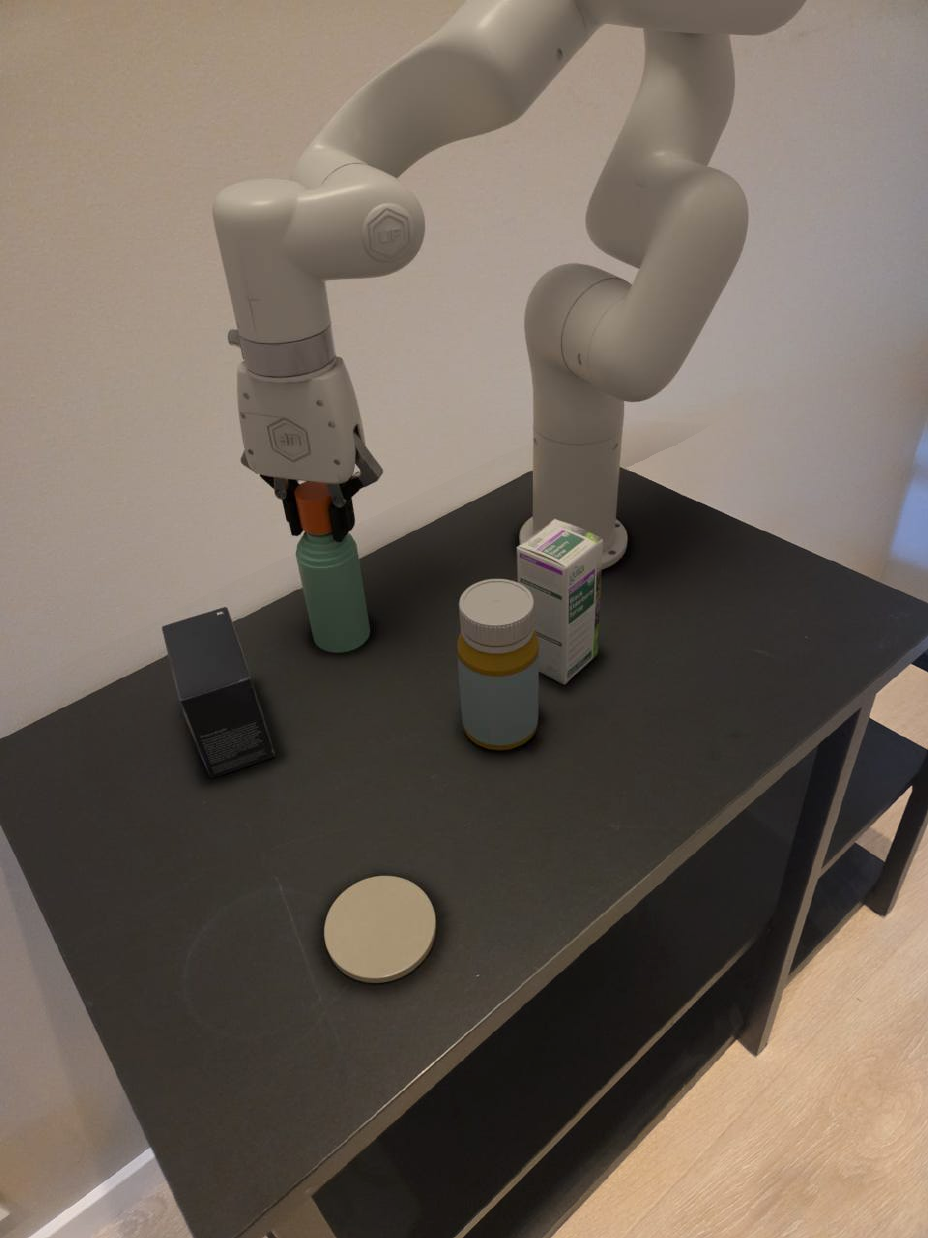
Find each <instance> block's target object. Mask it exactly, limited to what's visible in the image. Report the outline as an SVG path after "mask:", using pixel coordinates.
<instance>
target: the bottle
mask: <svg viewBox="0 0 928 1238" xmlns="http://www.w3.org/2000/svg"><path fill="white" fill-rule="evenodd" d="M458 610H459V612H458V613H459V624H460V632H459V635H458V639H457V641H456V656H457V668H458V669H457V671H458V681H459V682H458V683H459V684H458V685H459V697H460V710H461V721H462V727H463V731H464V733H465V734H466V736H467V737H468V739H469V740H470V741H472V742H473V743H475V745H478V746H480V747H483V748H485V749H488V750H491V751H492V750H494V751H506V750H507V751H508V750H512V749H514V748H517V747H520V746H522V745H524V744H526V742H527V741H528V742H529V740H530V739H532V737H534V734H535V733H536V731H537V728H538V725H539V689H540V688H539V685H540V684H539V683H540V682H539V681H540V680H539V678H540V677H539V676H540V675H539V674H540V672H539V642H538V638H537V635H536V633H535V631H534V629H533V623H534V600H533V597H532V594H531V593H530V591H529V590H528V589H527V588H526V587H524V586H523V585H521V584H519V583H518V581H515V580H510V579H505V578H490V579H489V578H488V579H484V580H481V581H478V582H476V583H473V584H472V585H470V586H468V587H467V588H466V589H465V590H464V591H463V593H462V594H461V596H460V599H459V603H458Z"/></svg>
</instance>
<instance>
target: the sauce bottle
mask: <svg viewBox="0 0 928 1238" xmlns="http://www.w3.org/2000/svg"><path fill="white" fill-rule="evenodd" d="M295 559H296V563H297V569H298V573H299V577H300V582H301V586H302V592H303V597H304V600H305V605H306V610H307V614H308V619H309V623H310V628H311V633H312V638H313V641H314V643H315V645H316V646H317V647H318V648H319V649H321V650H322V651H324V652H328V653H333V654H335V653H336V654H340V653H346V652H347V653H348V652H351V651H354V650H356V649H358V648H360V647H361V646H362V645H364V644H365V643H366V641H367V640H369V638H370V635H371V627H370V620H369V614H368V609H367V607H368V606H367V602H366V594H365V590H364V589H365V588H364V583H363V575H362V570H361V569H362V568H361V562H360V557H359V551H358V544H357V542H356V540H355V539H354V537H353V535H352V534H351V533H350V532H348V534H347V535H346V537H345V538H344V540H343V541H342V542H335V540H334V539H333V534H332V532H330V533H327V534H321V535H314V534H309V533H307V532H305V531H303V534H302V536H301V537H300V539H299V541H298V542H297V544H296V549H295Z"/></svg>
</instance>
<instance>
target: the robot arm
mask: <svg viewBox="0 0 928 1238" xmlns="http://www.w3.org/2000/svg"><path fill="white" fill-rule="evenodd" d="M807 1H808V0H464V2H463V3H462V4H461V6H460V7H458V9H457V10H456V11H455V13H454V14H452V16H451V17H450V18H449V19H448V20H447V21H446V22H445V23H444V24H443V26H441V28H439V29H438V30H437V31H435V32H434V33H433V34H432V35H431V36H429V37H427V38H426V39H424V40H423V41H422V42H420V43H418V44H417V45H415V46H413V48H411V49H410V50H409V51H408V52H406V53H405V54H404V55H402V56H401V57H400V58H398V59H397V60H395V61H394V62H393V63H392V64H391V65H389V66H388V67H386V68H385V69H384V70H382V71H381V72H379V73H378V74H377V75H375V76H374V77H373V78H371V79H370V80H369V81H367V83H365V84H363V86H361V87H360V88H359V89H358V90H356V92H354V93H353V94H352V96H350V97H349V99H347V100H346V101H345V102H344V103H343V104H342V106H341V107H340V108H339V109H338V110H337V111H336V112H335V113H334V115H332V117H331V118H330V119H329V120H328V122H327V123H326V124H325V125H324V127H323V128H321V130H320V131H319V132H318V134H317V135H315V136H314V138H313V140H312V141H310V143H309V144H308V145H307V147H306V148H305V150H304V151H303V152H302V153H301V155H300V157H299V158H298V160H297V161H296V163H295V165H294V167H293V169H292V171H291V173H290V176H289V178H288V179H284V178H257V179H256V178H255V179H250V180H244V181H240V182H237V183H234V184H231V185H228V186H227V187H224V188H222V189H221V190H219V192H218V193H217V194H216V195H215V197H214V199H213V202H212V208H211V210H212V211H211V214H212V219H213V225H214V226H213V227H214V230H215V233H216V238H217V239H216V240H217V243H218V248H219V252H220V256H221V262H222V265H223V270H224V275H225V279H226V284H227V288H228V294H229V297H230V302H231V305H232V306H231V307H232V312H233V315H234V320H235V325H236V329H234V328H231V329H230V330H229V331H228V332H227V341H228V344H229V345H230V346H232V347H237V348H238V349H240V351H241V356H242V360H243V361H241V362H240V363H238V365H237V369H236V396H237V408H238V409H237V411H238V420H239V425H240V433H241V439H242V444H243V449H244V450H243V452H242V455H241V457H240V463H241V464H242V465H243V466H244V467H245V468H247V469H249V470H251V471H252V472H254V474H256V475H259V477H260V478H261V479H262V480H263V481H264V482H265V483H266V484H267V485H268V486H270V487H271V489H273V491H274V492H273V493H274V496H275V497H276V498H277V499H278V500H281V502H282V507H283V511H284V516H285V519H286V520H285V521H286V522H287V523H288V526H289V530H290V535H291V536H293V537H299V536H300V535H301V534H302V533H304V530H303V529H302V528H301V523H300V518H299V513H298V508H297V504H296V499H295V494H294V491H295V489H296V487H297V486H298V485H300V484H301V483H299V482H300V481H302V482H306V481H309V482H318V483H326V485H327V487H328V490H329V493H330V496H331V499H332V503H331V504H330V506H329V508H328V511H329V517H330V523H331V528H332V534H333V539H334V540H335V542H342V541H343V540H344V538H345V537H346V535H347V534H348V533H350V532H352V530H353V529H354V528H355V525H356V515H355V510H354V504H353V497H354V496H355V495H356V494H357V493H359V491H361V489H363V488H367V487H368V486H370V485H372V484H375V483H377V482H378V481H379V480H380V478H381V477H382V475H383V473H384V469H383V468H382V466H381V464H379V462H378V461H377V459H376V458H375V456H373V453H372V452H371V451H370V450H369V448H368V447H367V446H366V445H367V444H366V440H365V431H364V426H363V421H362V416H361V411H360V408H359V403H358V400H357V395H356V392H355V389H354V385H353V382H352V379H351V376H350V374H349V370H348V368H347V366H346V364H345V361H344V359H343V358H342V357H340V356H337V351H336V345H335V338H334V333H333V326H332V320H331V319H332V318H331V314H330V312H331V311H330V307H329V300H328V293H327V286H326V281H338V280H362V279H365V280H366V279H375V278H381V277H386V276H390V275H392V274H394V273H397V272H399V271H401V270H403V269H404V268H405V267H407V266H408V265H409V264H410V263H411V262H413V260H414V259H415V257H417V255H418V253H419V252H420V251H421V248H422V245H423V243H424V239H425V235H426V219H425V218H426V217H425V213H424V210H423V207H422V205H421V203H420V201H419V199H418V197H417V196H416V194H415V193H414V192H413V190H411V188H410V187H409V186H407V185H406V183H404V182H403V181H402V180H400V179H399V178H400V177H401V176H402V175H403V174H404V173H405V172H407V170H409V169H410V167H412V166H413V165H414V164H416V163H417V162H418V161H419V160H421V159H422V158H424V157H425V156H427V155H429V154H430V153H432V152H434V151H436V150H439V149H440V148H442V147H444V146H447V145H449V144H452V143H455V142H458V141H462V140H465V139H470V138H474V137H477V136H482V135H485V134H489V133H491V132H494V131H496V130H500V129H501V128H503V127H506V126H509V125H511V124H513V123H514V122H516V121H517V120H519V119H520V118H522V117H523V116H524V115H525V113H527V111H528V110H529V109H530V108H531V106H532V105H533V104H534V102H536V100H537V99H538V98H539V97H540V96H541V94H542V93H543V92H544V91H545V90H546V89H547V88H548V86H549V85H550V84H551V83H552V81H554V79H555V78H556V77H557V76H558V75H559V73H561V71H563V69H564V68H565V67H566V66H567V64H568V63H569V62H570V61H571V60H572V59H573V58H574V57H575V55H576V54H577V53H578V52H579V51H580V50H581V49H582V48H583V46H584V45H586V43H587V42H588V41H589V40H590V38H591V37H592V36H593V35H594V34H595V33H596V32H597V31H598V30H599V29H600V28H601V27H603V26H604V25H614V26H619V27H626V28H627V27H628V28H635V29H642V32H643V42H644V62H643V63H644V65H643V71H642V75H641V80H640V82H639V86H638V89H637V92H636V94H635V97H634V99H633V102H632V104H631V107H630V109H629V112H628V114H627V116H626V118H625V120H624V122H623V124H622V127H621V129H620V131H619V134H618V136H617V138H616V140H615V142H614V144H613V147H612V149H611V151H610V153H609V154H608V155H609V156H608V157H607V160H606V162H605V164H604V166H603V168H602V170H601V173H600V175H599V176H598V179H597V182H596V183H595V185H594V189H593V191H592V192H591V195H590V198H589V200H588V203H587V206H586V212H585V219H584V220H585V231H586V233H587V234H588V237H589V240H590V241H591V242H592V243H593V245H595V247H597V248H598V249H599V250H600V251H601V252H603V253H604V254H606V255H608V256H610V257H611V258H612V259H613V258H614V259H616V260H617V261H620V262H622V263H624V264H627V265H629V266H632V267H633V268H635V269H638V271H637V272H636V275H635V277H634V280H633V282H632V283H631V282H629V280H626V279H624V278H621V277H619V276H617V275H615V274H612V273H611V272H608V271H606V270H604V269H601V268H599V267H596V266H593V265H590V264H586V263H585V264H584V263H579V262H578V263H577V262H576V263H575V262H574V263H573V262H572V263H571V262H570V263H565V264H560V265H557V266H555V267H553V268H551V269H549V270H548V271H547V272H545V273H544V274H542V275H541V277H539V278H538V280H537V281H536V282H535V284H534V285H533V286H532V288H531V291H530V293H529V295H528V298H527V300H526V304H525V309H524V315H523V316H524V317H523V319H524V320H523V329H524V338H525V346H526V351H527V356H528V361H529V368H530V374H531V383H532V516H531V517H530V518H528V519H527V520H526V521H525V522H524V523H523V524H522V526H521V528H520V531H519V535H518V536H519V537H518V539H519V545H521V544H522V543H524V542H525V541H526V540H527V539H529V538H530V537H531V536H533V535H534V534H535V533H537V532H538V531H540V530H541V529H543V528H544V527H546V526H547V525H549V524H550V522H551V521H553V520H554V519H556V520H559V521H562V522H565V523H568V524H571V525H574V526H577V527H579V528H581V529H584V530H586V531H588V532H590V533H592V534H594V535H596V536H598V537H600V538H602V540H603V549H602V570H605V569H608V568H610V567H611V566H613V565H615V564H616V563H617V562H619V560H620V559H622V558H623V556H624V555H625V553H626V551H627V548H628V538H629V537H628V533H627V530H626V528H625V526H624V525H623V524H622V523H621V521H620V520H618V519H617V505H618V496H619V495H618V493H619V482H620V468H621V454H622V443H623V431H624V430H623V429H624V419H625V402H628V403H640V402H644V401H646V400H647V401H648V400H650V399H651V398H653V397H655V396H656V395H658V394H659V393H661V392H662V391H663V390H664V389H665V388H667V386H668V385H669V384H670V383H671V382H672V380H674V378H675V377H676V375H677V374H678V372H679V371H680V369H681V368H682V366H683V364H684V363H685V361H686V359H687V358H688V356H689V354H690V352H691V350H692V349H693V347H694V345H695V344H696V342H697V339H698V338H699V336H700V334H701V332H702V330H703V328H704V327H705V325H706V323H707V321H708V319H709V318H710V316H711V314H712V312H713V310H714V308H715V306H716V304H717V302H718V301H719V299H720V297H721V296H722V293H723V291H724V289H725V288H726V286H727V284H728V282H729V280H730V278H731V277H732V275H733V272H734V270H735V268H736V266H737V265H738V262H739V260H740V258H741V255H742V252H743V249H744V246H745V243H746V240H747V234H748V228H749V217H750V216H749V205H748V200H747V197H746V194H745V192H744V190H743V188H742V186H741V185H740V184H739V182H738V181H737V180H736V179H734V178H733V177H732V176H731V175H730V174H728V173H726V172H725V171H722V170H720V169H717V168H715V167H711V166H709V164H710V162H711V159H712V157H713V155H714V153H715V150H716V148H717V146H718V144H719V141H720V139H721V137H722V135H723V133H724V131H725V128H726V126H727V124H728V121H729V119H730V115H731V112H732V109H733V104H734V99H735V93H736V92H735V91H736V73H735V72H736V71H735V63H734V55H733V48H732V43H731V35H732V36H734V35H735V36H750V37H751V36H763V35H767V34H769V33H773V32H776V31H777V30H778V29H780V28H782V27H783V26H785V25H786V24H787V23H788V22H790V21H791V20H792V19H793V18H794V17H795V16H796V15H797V14H798V13H799V12H800V11H801V9H802V8H803V7H804V5H805V4H806V2H807ZM355 467H357V468H358V470H359V471H356V472H355Z"/></svg>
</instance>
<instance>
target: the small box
mask: <svg viewBox="0 0 928 1238" xmlns="http://www.w3.org/2000/svg"><path fill="white" fill-rule="evenodd" d="M161 631H162V635H163V639H164V643H165V648H166V652H167V655H168V660H169V665H170V669H171V673H172V677H173V682H174V685H175V689H176V693H177V696H178V701H179V704H180V706H181V709H182V711H183V715H184V718H185V720H186V723H187V725H188V728H189V730H190V734H191V735H192V738H193V741H194V743H195V746H196V748H197V751H198V753H199V755H200V758H201V760H202V763H203V765H204V767H205V770H206V771H207V774H208V776H209V778H210V779H213V778H217V777H221V776H223V775H226V774H228V773H232V772H234V771H238V770H241V769H243V768H247V767H249V766H253V765H255V764H259V763H261V762H264V761H267V760H270V759H272V758H275V757H276V751H275V749H274V746H273V745H274V744H273V742H272V739H271V735H270V733H269V729H268V726H267V724H266V720H265V718H264V714H263V710H262V708H261V704H260V701H259V697H258V695H257V691H256V689H255V684H254V681H253V677H252V675H251V672H250V668H249V665H248V662H247V660H246V657H245V654H244V652H243V648H242V645H241V643H240V640H239V637H238V634H237V630H236V628H235V625H234V622H233V618H232V616H231V614H230V611H229V608H228V607H227V606H222V607H219V608H217V609H214V610H210V611H207V612H204V613H200V614H197V615H194V616H190V617H187V618H185V619H180V620H178V621H174V622H172V623H169V624H164V625H162V626H161Z"/></svg>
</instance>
